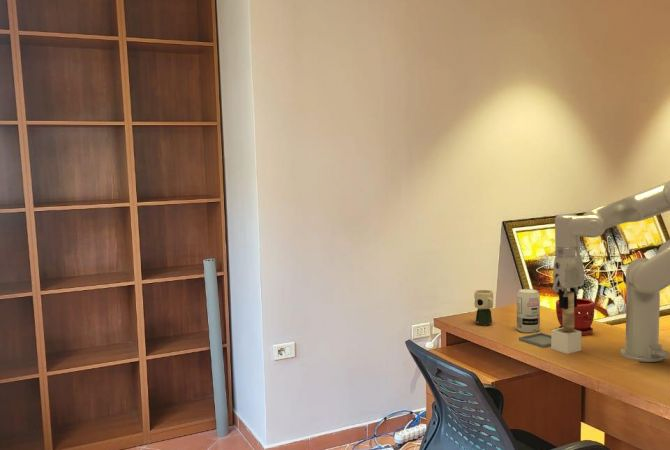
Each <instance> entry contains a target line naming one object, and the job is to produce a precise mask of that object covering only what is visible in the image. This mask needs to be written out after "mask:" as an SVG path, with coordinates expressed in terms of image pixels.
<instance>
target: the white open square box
mask: <svg viewBox="0 0 670 450" xmlns="http://www.w3.org/2000/svg"><path fill="white" fill-rule="evenodd" d="M550 330H551V331H550V332H551V334H550V335H551V346H550V349H551V350H553V351H556V352H560V353H563V354H567V355H569V354H572V353H577V352H581V351H582V336H581V331H578V330H574V332H572V333H567V332H563V328H559V327H558V328H555V329H550Z"/></svg>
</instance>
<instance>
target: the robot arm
mask: <svg viewBox="0 0 670 450" xmlns="http://www.w3.org/2000/svg"><path fill="white" fill-rule="evenodd" d="M669 211H670V180H668V181H666V182H663V183H661V184H657V185H655V186H653V187H650V188H648V189H645V190H643V191H640V192H637V193H634V194H632V195H628V196H626V197H624V198H621V199H619V200H616V201H613V202H610V203H608V204H605V205H603V206H600V207H597V208H595V209H592V210H590V211H587V212H585V213H583V214H582V215H578V214H575V213H563V214H561V213H560V214H558V215H556V216H555V218H554V238H555V239H554V244H555V245H554V246H555V247H554V249H555V250H554V261H553V269H552V282H553V285H552V288H551V289H552V290H553V291H554V292H555V293H556V294H557V296H558V300H559V307H560V308H563V309H568V297H566V296H567V291H571V292H574V307H577V298H578V295H579V291H580V289H581V288H582V287H583V286H584V284H585V272H584V270H585V269H584V263H583V258H582V255H581V243H580V241H581V239H580V238H581V237H583V238H593V239H594V238H598V237H600V236H602V235H603V234H604V233H605V232H606V230H607V229H610V228H614V227H616V226H619V225H622V224H626V223H635V222H641V221H645V220H648V219H651V218H653V217H655V216H656V217H657V216H658V215H661V214H664V213H667V212H669ZM669 286H670V239H668V240H666V241H664V243H662V244H661V245H660V246H659V248H658V251H657V254H655V255H653V256H652V257H650V258H647V257H640V258H639V257H638V258H635V259H633V260H632V261H631V262H630V263H628V265H627V267H626V272H625V287H626V289H625V291H626V294H625V295H626V296H625V297H626V302H625V303H626V305H625V306H626V307H625V343H624V344H625V346H624V348H621V349H620V350H619V355H621V356H622V357H623V358H627V359H630V360H635V361H638V362H641V363H655V362H656V363H658V362H661V361H663V360H664V359H666V360H668V358H669V356H670V351H669V350H664V349H663V348H662V347H663V345H662V344H660V342H659V341H660V340H659V338H660V307H661V299H660V297H661V294H660V293H661V291H662V290H665V289H666V288H667V287H669Z"/></svg>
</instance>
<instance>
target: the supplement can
mask: <svg viewBox="0 0 670 450" xmlns="http://www.w3.org/2000/svg"><path fill="white" fill-rule="evenodd" d="M540 300H541V296H540V293H539V291H538V290H537V289H533V288H522V289H518V292H517V293H516V329H517V330H518V332H520V333H526V334H535V333H539V331H540V330H541V328H540V326H541V324H540V322H541V321H540V320H541V316H540V313H541V312H540V311H541V301H540ZM534 332H535V333H534Z"/></svg>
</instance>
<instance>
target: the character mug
mask: <svg viewBox="0 0 670 450" xmlns="http://www.w3.org/2000/svg"><path fill="white" fill-rule="evenodd" d="M473 296H474V304H473V305H474V307H475V308H476V309H477V310H476V314H475V324H478V325H480V326H481V325H482V326H483V325H484V326H487V325H490V324H493V317H492V311H491V309H493V307H494V291H493V290H490V289H477V290H474V295H473Z"/></svg>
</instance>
